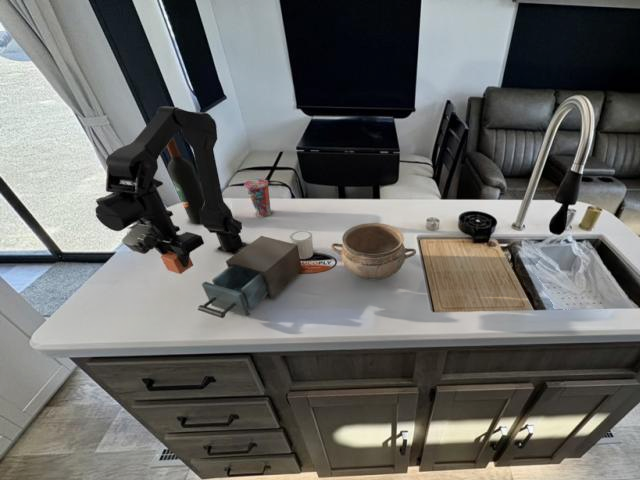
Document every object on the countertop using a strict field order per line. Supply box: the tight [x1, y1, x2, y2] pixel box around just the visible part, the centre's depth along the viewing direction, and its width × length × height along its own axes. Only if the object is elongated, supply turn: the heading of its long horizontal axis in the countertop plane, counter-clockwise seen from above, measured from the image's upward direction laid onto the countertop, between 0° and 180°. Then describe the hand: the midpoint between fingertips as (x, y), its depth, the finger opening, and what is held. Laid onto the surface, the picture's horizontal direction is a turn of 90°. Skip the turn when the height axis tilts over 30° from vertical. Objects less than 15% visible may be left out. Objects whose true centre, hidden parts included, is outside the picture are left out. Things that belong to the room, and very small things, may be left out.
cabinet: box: [225, 235, 303, 300], centre depth 93 cm, size 15×13×9 cm
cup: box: [243, 178, 272, 217], centre depth 122 cm, size 9×8×12 cm
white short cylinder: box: [289, 230, 314, 260], centre depth 104 cm, size 7×7×7 cm
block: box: [160, 252, 194, 275], centre depth 86 cm, size 4×4×4 cm
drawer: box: [197, 265, 269, 319], centre depth 84 cm, size 18×11×7 cm, turn 159°
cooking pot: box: [330, 222, 417, 281], centre depth 96 cm, size 25×19×12 cm
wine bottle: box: [166, 137, 204, 225], centre depth 112 cm, size 8×8×30 cm
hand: (179, 264), depth 87 cm, fingers closed on block, 4 cm apart
